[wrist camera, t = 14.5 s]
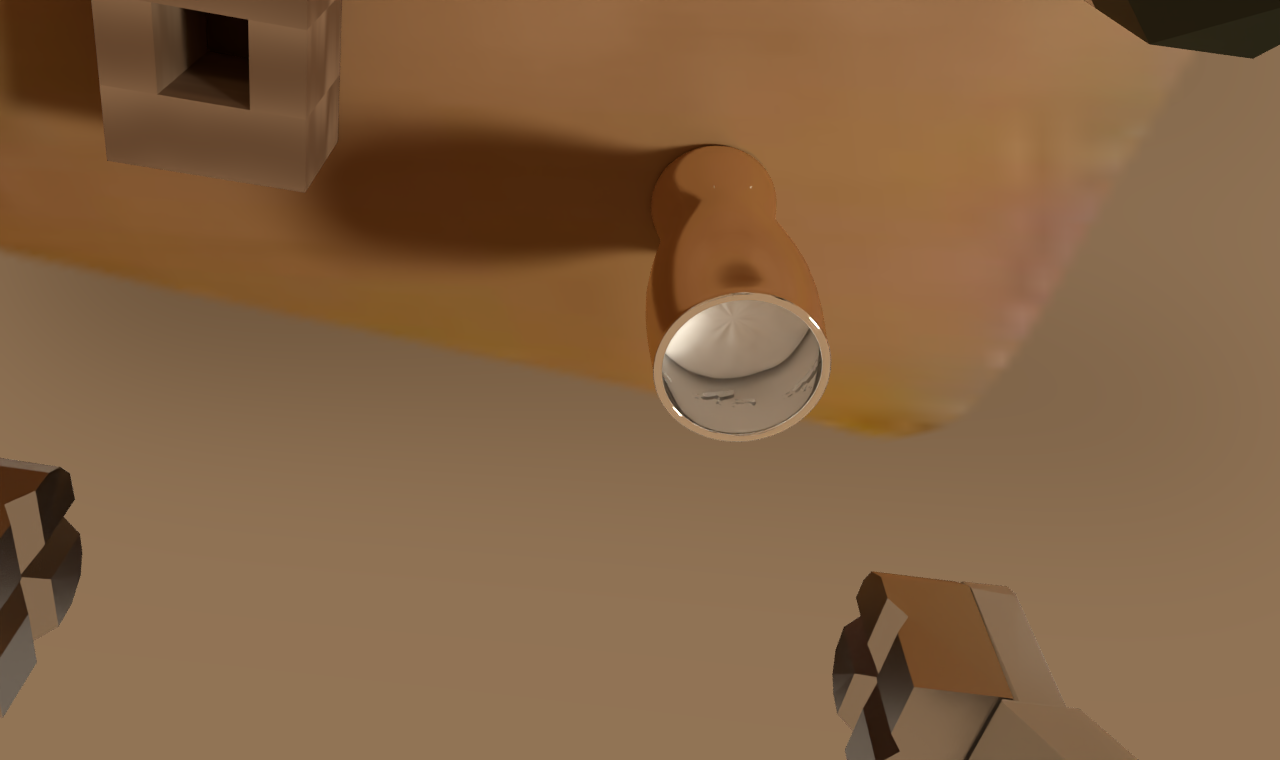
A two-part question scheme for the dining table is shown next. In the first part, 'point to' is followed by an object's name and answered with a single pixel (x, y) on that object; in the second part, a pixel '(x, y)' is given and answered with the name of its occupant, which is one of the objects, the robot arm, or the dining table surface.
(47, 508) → the robot arm
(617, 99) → the dining table surface
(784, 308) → the beer glass
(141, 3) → the block
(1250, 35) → the wine bottle
